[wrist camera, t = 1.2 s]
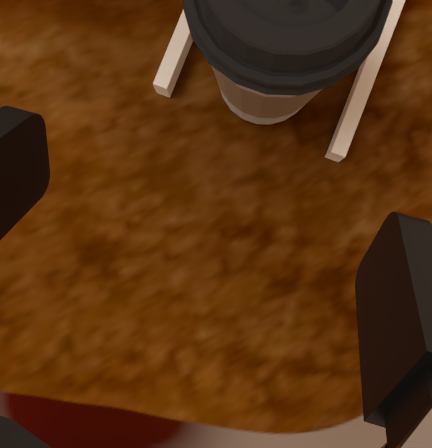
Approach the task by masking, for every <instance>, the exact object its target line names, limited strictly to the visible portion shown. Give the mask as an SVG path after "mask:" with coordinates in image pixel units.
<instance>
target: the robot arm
mask: <svg viewBox="0 0 432 448" xmlns="http://www.w3.org/2000/svg"><path fill="white" fill-rule="evenodd" d="M49 179H50V168H49V158H48V148H47V137H46V127H45V122H44V120H43V118H42V116H41V115H39V114H36V113H32V112H28V111H25V110H21V109H17V108H14V107H10V106H3V107H1V108H0V240H1V239H2V238H3V237H4V236H5V235H6V234H7V233H8V232H9V231H10V230H11V229H12V227H13V226H14V225H15V224H16V223H17V222H18V221H19V220H20V219H21V218H22V217H23V216H24V215H25V214H26V213H27V212H28V211H29V210H30V209H31V208H32V207H33V206H34V205H35V204H36V203H37V202H38V201H39V200H40V199H41V198H42V196H43V195H44V193H45V191H46V189H47V187H48V184H49ZM355 292H356V307H357V322H358V338H359V353H360V368H361V383H362V399H363V414H364V421H365V422H368V423H371V424H375V425H378V426H381V427H385V428H386V436H387V443H386V444H385V445H384V446H383V447H382V448H432V225H431V223H430V222H429V221H427V220H423V219H419V218H415V217H412V216H408V215H404V214H401V213H397V212H392V213H390V214H389V215H388V216H387V218H386V219H385V221H384V223H383V224H382V226H381V228H380V230H379V231H378V233H377V235H376V237H375V238H374V240H373V242H372V244H371V245H370V247H369V249H368V251H367V252H366V254H365V256H364V258H363V259H362V261H361V263H360V266H359V269H358V272H357V276H356V282H355ZM0 448H51V447H49V446H48V445H47V444H45V443H44V442H42V441H41V440H40V439H38V438H37V437H35V436H34V435H33V434H31V433H30V432H28V431H27V430H25V429H24V428H23V427H21V426H20V425H18V424H17V423H16V422H14V421H13V420H11V419H9V418H6V417H3V416H0Z"/></svg>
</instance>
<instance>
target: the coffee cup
mask: <svg viewBox="0 0 432 448" xmlns="http://www.w3.org/2000/svg"><path fill="white" fill-rule="evenodd" d="M392 3H393V0H183V10H184V13H185V17H186V20H187V24H188V27H189V31H190V34H191V38H192V39H193V41H194V42H195V44H196V45H197V47H198V48H199V49H200V51H201V52H202V54H203V55H204V57H205V58H206V60H207V61H208V63H209V64H210V65H211V66H212V69H213V72H214V75H215V77H216V80H217V83H218V86H219V88H220V91H221V94H222V96H223V99H224V100H225V102H226V103H227V105H228V106H229V108H230V109H231V111H233V112H234V113H235V114H237V115H238V116H239V117H241V118H242V119H244V120H246V121H249V122H252V123H254V124H268V125H269V124H274V123H278V122H281V121H285V120H286V119H288V118H289V117H291V116H292V115H294V114H295V113H297V112H298V111H299V110H300V109H301V108H302V107H303V106H304V105H305V104H307V103H308V102H309V101H310V100H311V99H312V98H313V97H314V96H315V95H316V94H317V93H319V92H320V91H321V90H322V89H324V88H328V87H331V86H333V85H334V84H336V83H337V82H339V81H340V80H342V79H343V78H345V77H346V76H348V75H349V74H351V73H352V72H354V71H355V70H357V69H358V68H359V67H360V65H361V64H362V63H363V62H364V60H365V59H366V58H367V57H368V55H369V54H370V53H371V51H372V50H373V49H374V48H375V46H376V45H377V44H378V42H379V39H380V36H381V34H382V31H383V29H384V26H385V23H386V20H387V17H388V15H389V12H390V9H391V6H392Z"/></svg>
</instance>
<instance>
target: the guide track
mask: <svg viewBox="0 0 432 448" xmlns="http://www.w3.org/2000/svg"><path fill="white" fill-rule="evenodd" d="M404 3H405V0H393V3H392V6H391V9H390V12H389V15H388V17H387V20H386V23H385V26H384V29H383V31H382V34H381V36H380V39H379V42H378V44H377V45H376V46H375V48H374V49H373V50H372V51H371V53H370V54H369V55H368V57H367V58H366V59H365V60H364V62H363V63H362V64H361V65H360V67H359V70H358V73H357V75H356V78H355V80H354V83H353V86H352V88H351V91H350V93H349V96H348V98H347V101H346V104H345V106H344V109H343V111H342V114H341V117H340V119H339V122H338V124H337V127H336V130H335V132H334V135H333V137H332V140H331V143H330V145H329V148H328V150H327V153H326V155H325V158H328V159H330V160H333V161H336V162H340V161H341V160H342V159H344V158H345V157H346V154H347V152H348V149H349V146H350V144H351V141H352V138H353V136H354V133H355V131H356V128H357V125H358V123H359V120H360V118H361V115H362V112H363V110H364V107H365V105H366V102H367V99H368V97H369V94H370V92H371V89H372V86H373V84H374V81H375V79H376V76H377V73H378V71H379V68H380V65H381V63H382V60H383V58H384V55H385V52H386V50H387V47H388V45H389V42H390V39H391V37H392V34H393V32H394V29H395V26H396V24H397V21H398V19H399V16H400V13H401V11H402V8H403V6H404ZM192 43H193V39H192V38H191V34H190V31H189V27H188V24H187V20H186V17H185V13H184V10H183V11H182V14H181V16H180V19H179V21H178V23H177V26H176V28H175V31H174V33H173V36H172V38H171V41H170V43H169V45H168V48H167V50H166V53H165V55H164V58H163V60H162V62H161V65H160V67H159V70H158V72H157V75H156V77H155V79H154V82H153V85H154V88H155V90H156V92H157V93H158V94H161V95H163V96H166V97H169V98H170V96H171V94H172V92H173V89H174V87H175V84H176V82H177V79H178V77H179V74H180V72H181V69H182V67H183V65H184V62H185V60H186V57H187V55H188V52H189V50H190V47H191V45H192Z"/></svg>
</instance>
